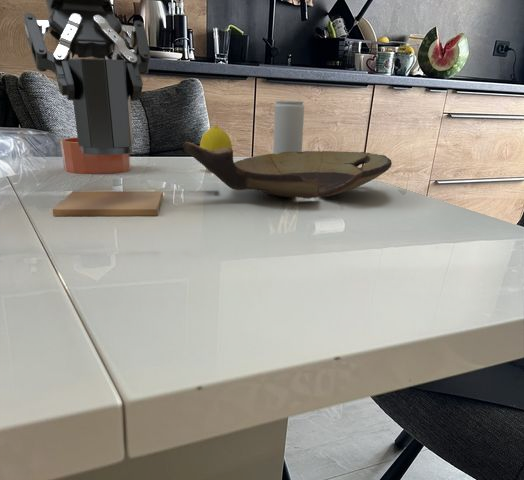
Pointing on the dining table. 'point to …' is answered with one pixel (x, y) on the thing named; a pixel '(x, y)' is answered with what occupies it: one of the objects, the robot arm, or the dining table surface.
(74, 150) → the terracotta pot
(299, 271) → the dining table surface
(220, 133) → the lemon
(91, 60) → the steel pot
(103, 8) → the robot arm
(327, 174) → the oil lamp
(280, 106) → the beverage can
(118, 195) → the cork trivet
